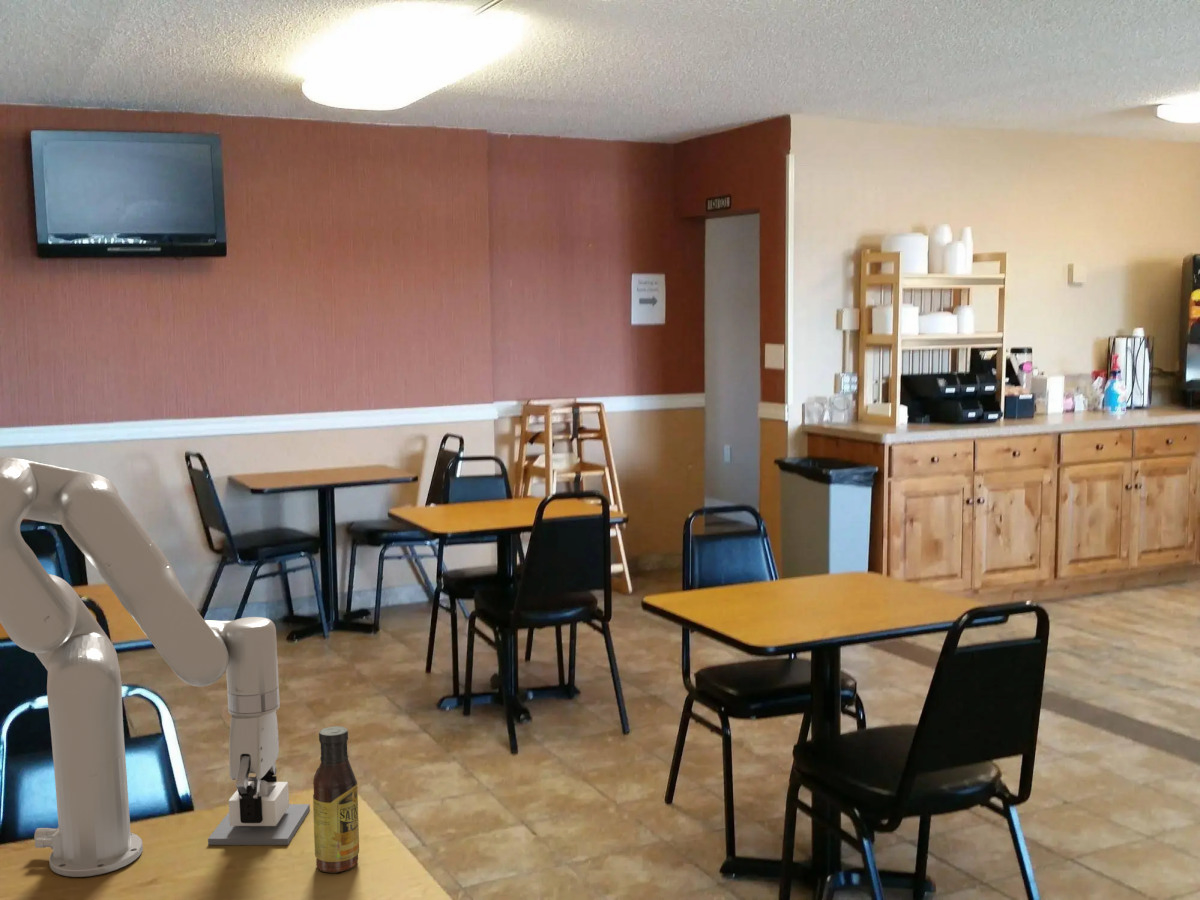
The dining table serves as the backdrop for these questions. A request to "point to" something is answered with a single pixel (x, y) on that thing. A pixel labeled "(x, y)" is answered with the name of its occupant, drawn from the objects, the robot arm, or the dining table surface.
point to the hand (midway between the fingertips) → (259, 810)
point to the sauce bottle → (335, 804)
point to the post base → (261, 827)
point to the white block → (263, 805)
